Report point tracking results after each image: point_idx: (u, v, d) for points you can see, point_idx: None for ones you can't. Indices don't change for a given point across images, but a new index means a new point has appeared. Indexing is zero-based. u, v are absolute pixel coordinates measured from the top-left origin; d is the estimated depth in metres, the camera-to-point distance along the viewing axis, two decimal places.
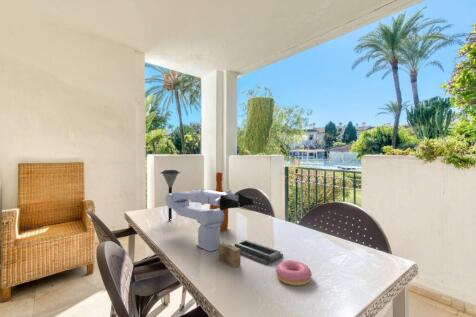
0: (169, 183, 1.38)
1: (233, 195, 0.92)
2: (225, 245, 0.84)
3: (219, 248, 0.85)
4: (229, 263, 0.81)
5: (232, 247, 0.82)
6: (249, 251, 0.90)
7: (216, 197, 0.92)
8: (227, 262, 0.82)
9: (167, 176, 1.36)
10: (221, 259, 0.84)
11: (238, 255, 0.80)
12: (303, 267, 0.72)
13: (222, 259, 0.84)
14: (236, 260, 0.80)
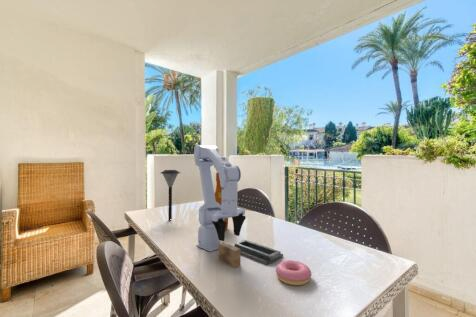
0: (169, 183, 1.38)
1: None
2: (225, 245, 0.84)
3: (219, 248, 0.85)
4: (229, 263, 0.81)
5: (232, 247, 0.82)
6: (249, 251, 0.90)
7: (226, 202, 0.81)
8: (227, 262, 0.82)
9: (167, 176, 1.36)
10: (221, 259, 0.84)
11: (238, 255, 0.80)
12: (303, 267, 0.72)
13: (222, 259, 0.84)
14: (236, 260, 0.80)
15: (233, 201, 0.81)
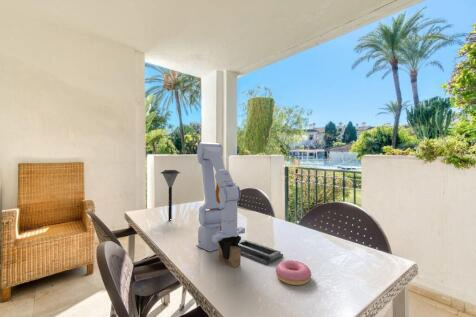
0: (169, 183, 1.38)
1: None
2: None
3: (219, 248, 0.85)
4: (229, 263, 0.81)
5: (232, 247, 0.82)
6: (249, 251, 0.90)
7: (225, 222, 0.81)
8: (227, 262, 0.82)
9: (167, 176, 1.36)
10: (221, 259, 0.84)
11: (238, 255, 0.80)
12: (303, 267, 0.73)
13: (222, 259, 0.84)
14: (236, 259, 0.80)
15: (233, 221, 0.81)
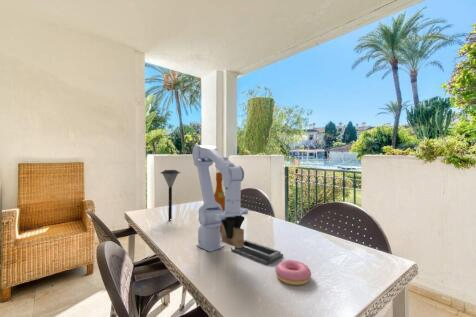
0: (169, 183, 1.38)
1: None
2: None
3: (222, 229, 0.86)
4: (232, 244, 0.82)
5: (235, 228, 0.83)
6: (249, 251, 0.90)
7: (229, 202, 0.82)
8: (230, 243, 0.83)
9: (167, 176, 1.36)
10: (224, 240, 0.85)
11: (241, 235, 0.81)
12: (303, 267, 0.73)
13: (225, 240, 0.85)
14: (239, 240, 0.80)
15: (236, 201, 0.82)
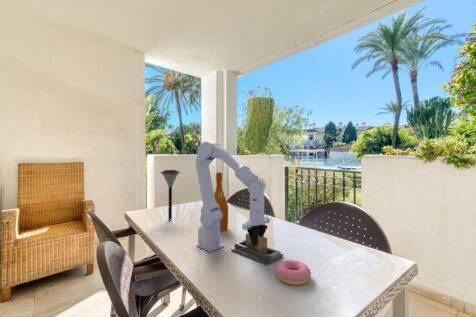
0: (169, 183, 1.38)
1: None
2: None
3: (246, 238, 0.93)
4: None
5: (259, 236, 0.90)
6: (249, 251, 0.90)
7: (254, 212, 0.89)
8: None
9: (167, 176, 1.36)
10: None
11: (265, 243, 0.88)
12: (302, 266, 0.73)
13: None
14: (263, 248, 0.88)
15: (261, 211, 0.89)
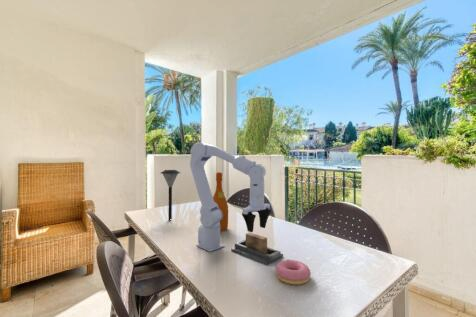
0: (169, 183, 1.38)
1: None
2: (252, 234, 0.92)
3: (246, 238, 0.93)
4: None
5: (259, 236, 0.90)
6: (249, 251, 0.90)
7: (254, 197, 0.89)
8: None
9: (167, 176, 1.36)
10: None
11: (265, 243, 0.88)
12: (302, 266, 0.73)
13: None
14: (263, 248, 0.88)
15: (261, 196, 0.89)
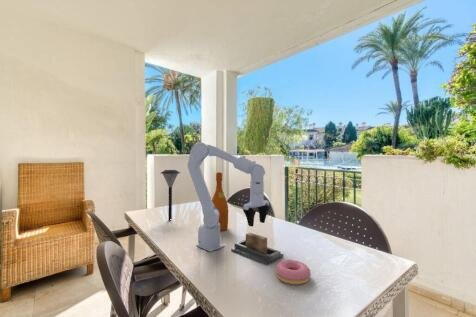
0: (169, 183, 1.38)
1: None
2: (252, 234, 0.92)
3: (246, 238, 0.93)
4: None
5: (259, 236, 0.90)
6: (249, 251, 0.90)
7: (254, 194, 0.96)
8: None
9: (167, 176, 1.36)
10: None
11: (265, 243, 0.88)
12: (302, 266, 0.73)
13: None
14: (263, 248, 0.88)
15: (260, 193, 0.97)
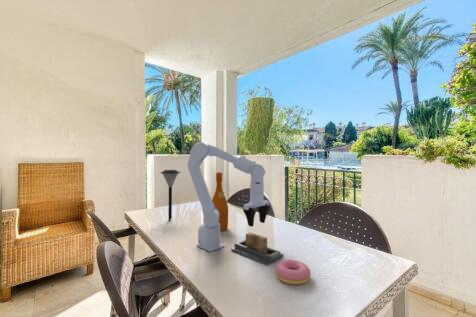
0: (169, 183, 1.38)
1: None
2: (252, 234, 0.92)
3: (246, 238, 0.93)
4: None
5: (259, 236, 0.90)
6: (249, 251, 0.90)
7: (254, 194, 0.96)
8: None
9: (167, 176, 1.36)
10: None
11: (265, 243, 0.88)
12: (302, 266, 0.73)
13: None
14: (263, 248, 0.88)
15: (260, 193, 0.97)
